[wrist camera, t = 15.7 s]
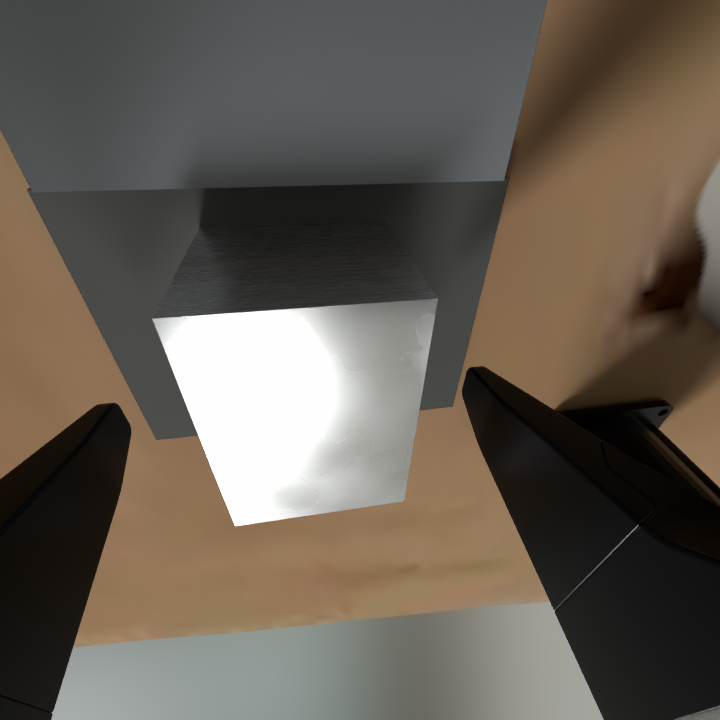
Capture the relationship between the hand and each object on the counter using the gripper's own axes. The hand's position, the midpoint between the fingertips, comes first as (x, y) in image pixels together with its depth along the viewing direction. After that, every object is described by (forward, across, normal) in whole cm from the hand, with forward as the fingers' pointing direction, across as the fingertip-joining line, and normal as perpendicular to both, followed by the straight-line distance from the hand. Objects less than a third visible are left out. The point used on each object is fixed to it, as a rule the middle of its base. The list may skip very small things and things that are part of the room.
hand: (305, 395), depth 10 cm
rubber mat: (+4, 0, 0) cm, 4 cm away
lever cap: (+3, 0, 0) cm, 3 cm away
